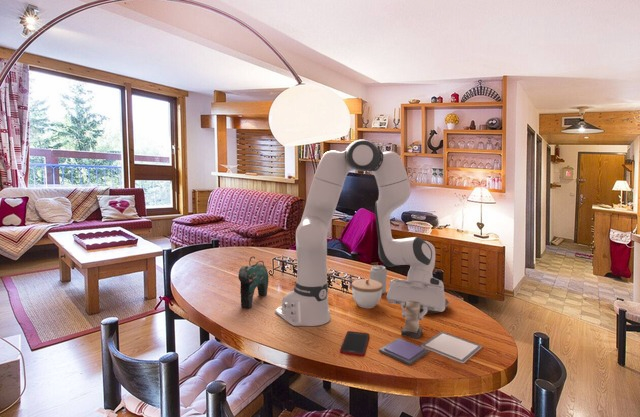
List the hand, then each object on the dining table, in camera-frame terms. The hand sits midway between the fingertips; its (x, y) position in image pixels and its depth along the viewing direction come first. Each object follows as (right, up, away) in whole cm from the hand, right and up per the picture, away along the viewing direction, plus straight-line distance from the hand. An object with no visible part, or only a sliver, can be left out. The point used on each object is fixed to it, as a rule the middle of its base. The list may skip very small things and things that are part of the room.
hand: (412, 317), depth 128 cm
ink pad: (-5, -7, -11) cm, 15 cm away
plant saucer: (+12, -3, +26) cm, 29 cm away
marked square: (+11, -7, -8) cm, 15 cm away
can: (-5, -1, +42) cm, 42 cm away
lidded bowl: (-13, -3, +27) cm, 29 cm away
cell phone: (-20, -7, -6) cm, 22 cm away
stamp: (0, -6, +1) cm, 6 cm away
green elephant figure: (-60, -2, +29) cm, 66 cm away
